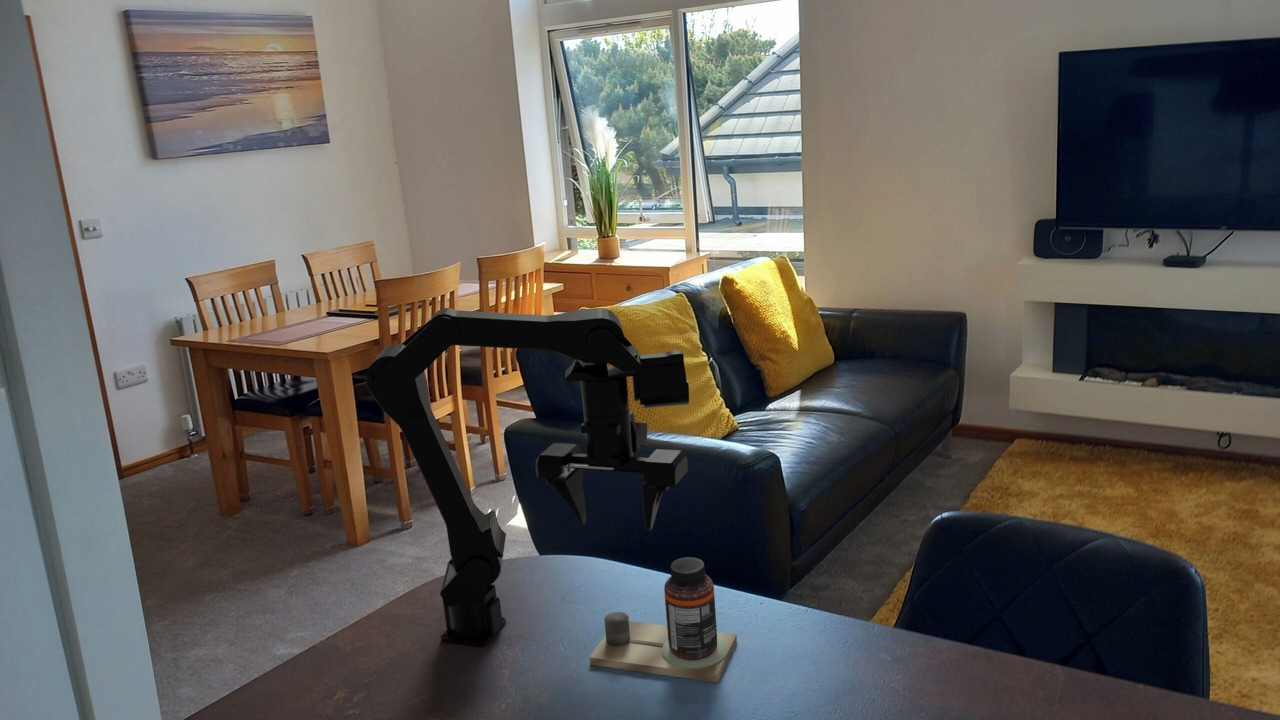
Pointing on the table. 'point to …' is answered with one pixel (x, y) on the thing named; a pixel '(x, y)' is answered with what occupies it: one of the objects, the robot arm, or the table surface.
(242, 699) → the table surface
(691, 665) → the pad
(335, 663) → the table surface
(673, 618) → the supplement bottle
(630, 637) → the board
